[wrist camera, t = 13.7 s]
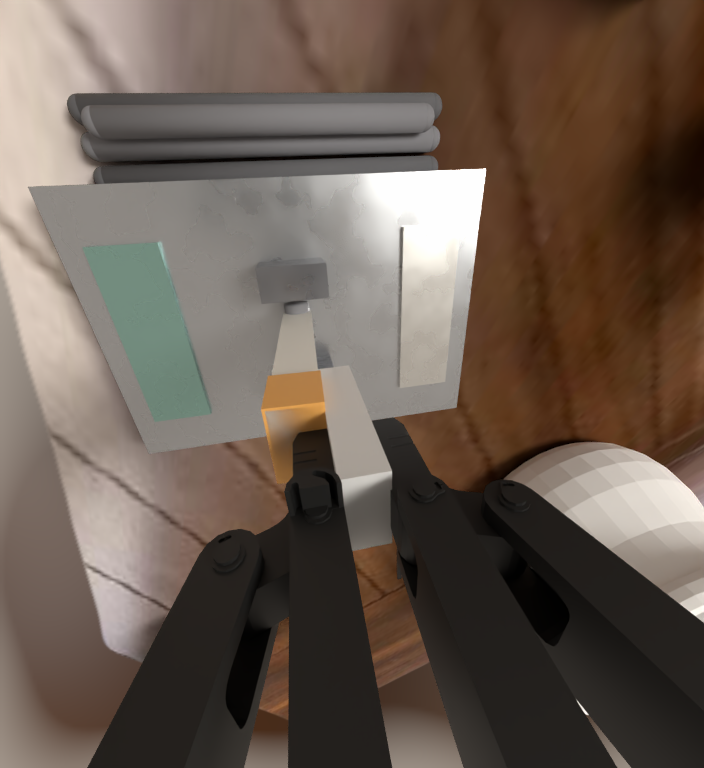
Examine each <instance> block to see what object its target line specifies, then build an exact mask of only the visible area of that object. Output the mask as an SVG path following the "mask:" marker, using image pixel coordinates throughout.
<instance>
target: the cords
mask: <svg viewBox="0 0 704 768" xmlns="http://www.w3.org/2000/svg"><path fill="white" fill-rule="evenodd" d="M67 106H68V110H69V112H70V114H71V115H72V117H73V118H74V119H75V120H76V121H77V122H78V123H80V124H81V125H83V126H84V127H85V128H86V129H87V131H88V132H86V133H84V134H83V135H82V137H81V145H82V148H83V150H84V151H85V153H86V154H87V155H88V156H89V157H91V158H92V159H94V160H96V161H99V162H119V161H152V160H185V159H218V158H251V157H284V156H317V155H351V154H384V153H417V152H431V151H433V150H434V149H435V148H436V147H437V146H438V144H439V141H440V133H439V130H438V129H437V128H436V127H435V126H432V125H433V122H434V120H435V119H436V118H437V117H438V116H439V115H440V112H441V109H442V101H441V98H440V96H439V95H438V94H436V93H88V94H72V95H71V96H70V97H69V98H68V100H67ZM437 170H438V162H437V160H436V159H435V158H434V157H433V156H399V157H367V158H336V159H304V160H273V161H241V162H210V163H178V164H147V165H115V166H100V167H97V168H96V169H95V171H94V174H93V177H94V181H95V183H96V184H113V183H139V182H164V181H190V180H215V179H241V178H267V177H292V176H318V175H344V174H369V173H395V172H421V171H437Z"/></svg>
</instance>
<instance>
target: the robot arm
mask: <svg viewBox="0 0 704 768" xmlns="http://www.w3.org/2000/svg"><path fill="white" fill-rule="evenodd" d="M319 370H321V378H322V386H323V394H324V402H325V411H326V412H325V414H326V423H327V429H320V430H313V431H306V432H300V433H298V434H297V436H296V438H295V440H294V441H293V476H292V478H291V479H290V480H289V481H288V482H287V484H286V488H285V491H284V492H285V497H286V501H287V506H288V510H289V513H288V514H287V515H286V517H285V518H284V519H283V520H282V521H280V522H279V523H278V524H277V525H275V526H273V527H272V528H270V529H268V530H266V531H264V532H262V533H259V534H257V535H254V534H253V533H252V532H250V531H247V530H242V529H237V530H230V531H227V532H225V533H223V534H221V535H218V536H217V537H216V538H214V539H213V540H212V541H211V542H209V543H208V544H207V545H206V547H205V548H204V549H203V551H202V552H201V553H200V555H199V557H198V558H197V560H196V562H195V564H194V566H193V568H192V570H191V572H190V574H189V576H188V577H187V579H186V581H185V583H184V585H183V587H182V589H181V591H180V593H179V595H178V596H177V598H176V600H175V602H174V604H173V606H172V608H171V610H170V612H169V614H168V615H167V617H166V619H165V621H164V623H163V625H162V627H161V629H160V631H159V633H158V634H157V636H156V638H155V640H154V642H153V644H152V646H151V648H150V650H149V652H148V653H147V655H146V657H145V659H144V661H143V663H142V665H141V667H140V669H139V671H138V673H137V674H136V676H135V678H134V680H133V682H132V684H131V686H130V688H129V690H128V691H127V694H126V695H125V697H124V699H123V701H122V703H121V705H120V707H119V709H118V710H117V712H116V714H115V716H114V718H113V720H112V722H111V724H110V726H109V728H108V729H107V732H106V733H105V735H104V737H103V739H102V741H101V743H100V745H99V747H98V748H97V750H96V752H95V754H94V756H93V758H92V760H91V762H90V764H89V766H88V767H87V768H244V765H245V761H246V756H247V753H248V748H249V745H250V740H251V736H252V732H253V728H254V724H255V720H256V715H257V712H258V707H259V703H260V699H261V695H262V691H263V687H264V683H265V679H266V675H267V670H268V666H269V662H270V658H271V654H272V650H273V646H274V642H275V637H276V633H277V629H278V625H279V622H280V621H282V620H284V619H285V618H287V617H288V616H289V727H288V730H289V731H288V733H289V734H288V740H289V741H288V768H392V764H391V759H390V754H389V748H388V742H387V737H386V732H385V727H384V721H383V716H382V710H381V705H380V699H379V693H378V688H377V683H376V677H375V672H374V666H373V661H372V655H371V650H370V645H369V639H368V634H367V628H366V623H365V617H364V612H363V606H362V601H361V596H360V590H359V585H358V579H357V574H356V568H355V563H354V558H353V552H352V551H354V550H359V549H364V548H369V547H374V546H379V545H384V544H389V543H392V533H393V536H394V539H395V542H396V545H397V578H398V579H401V578H402V577H403V580H404V583H405V586H406V589H407V592H408V595H409V599H410V602H411V605H412V608H413V611H414V614H415V617H416V620H417V623H418V627H419V630H420V633H421V636H422V639H423V642H424V645H425V648H426V652H427V655H428V658H429V661H430V664H431V667H432V670H433V673H434V676H435V679H436V683H437V686H438V689H439V692H440V695H441V698H442V701H443V704H444V708H445V711H446V714H447V717H448V720H449V723H450V726H451V729H452V732H453V736H454V739H455V742H456V745H457V748H458V751H459V754H460V757H461V761H462V764H463V767H464V768H617V767H616V765H615V763H614V762H613V760H612V758H611V757H610V755H609V753H608V752H607V750H606V748H605V747H604V745H603V743H602V742H601V740H600V739H599V737H598V735H597V733H596V732H595V730H594V728H593V727H592V725H591V723H590V722H589V720H588V718H587V717H586V715H585V713H584V712H583V710H582V708H581V707H580V705H581V706H582V707H583V708H584V709H585V711H586V712H587V713H588V714H589V716H590V717H591V718H592V719H593V721H594V722H595V723H596V724H597V726H598V727H599V728H600V729H601V730H602V732H603V733H604V734H605V735H606V737H607V738H608V739H609V740H610V742H611V743H612V744H613V745H614V747H615V748H616V749H617V750H618V752H619V753H620V754H621V755H622V756H623V758H624V759H625V760H626V762H627V763H628V764H629V765H630V766H631V768H704V622H702V621H701V620H700V619H698V618H697V617H696V616H695V615H693V614H692V613H691V612H689V611H688V610H687V609H686V608H684V607H683V606H682V605H680V604H679V603H678V602H677V601H675V600H674V599H673V598H671V597H670V596H669V595H668V594H666V593H665V592H664V591H662V590H661V589H660V588H659V587H657V586H656V585H655V584H653V583H652V582H651V581H649V580H648V579H647V578H646V577H644V576H643V575H642V574H640V573H639V572H638V571H637V570H635V569H634V568H633V567H631V566H630V565H629V564H628V563H626V562H625V561H624V560H622V559H621V558H620V557H619V556H617V555H616V554H615V553H613V552H612V551H611V550H610V549H608V548H607V547H606V546H604V545H603V544H602V543H601V542H599V541H598V540H597V539H595V538H594V537H593V536H592V535H590V534H589V533H588V532H586V531H585V530H584V529H583V528H581V527H580V526H579V525H577V524H576V523H575V522H574V521H572V520H571V519H570V518H568V517H567V516H566V515H565V514H563V513H562V512H561V511H559V510H558V509H557V508H556V507H554V506H553V505H552V504H550V503H549V502H548V501H547V500H545V499H544V498H543V497H541V496H540V495H539V494H538V493H536V492H535V491H534V490H532V489H531V488H529V487H527V486H526V485H524V484H522V483H519V482H516V481H513V480H502V479H500V480H496V481H492V482H491V483H489V484H488V485H487V486H486V487H485V490H484V493H477V492H465V491H458V490H454V489H451V488H448V486H447V485H446V484H445V483H444V482H443V481H442V480H440V479H439V478H437V477H435V476H433V475H431V473H430V471H429V470H428V468H427V466H426V464H425V462H424V461H423V459H422V457H421V455H420V453H419V452H418V450H417V448H416V446H415V444H413V441H412V439H411V437H410V436H409V434H408V432H407V430H406V428H405V427H404V425H403V424H402V423H400V422H399V421H398V420H396V419H395V418H386V419H380V420H373V421H371V418H370V416H369V413H368V411H367V409H366V406H365V404H364V401H363V399H362V396H361V394H360V391H359V389H358V387H357V384H356V382H355V379H354V377H353V374H352V372H351V369H350V367H349V365H347V366H339V367H331V368H323V369H318V371H319ZM577 701H578V702H579V703H580V705H579V703H578V702H577Z"/></svg>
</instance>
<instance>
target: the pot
mask: <svg viewBox="0 0 704 768" xmlns="http://www.w3.org/2000/svg"><path fill="white" fill-rule="evenodd" d="M503 480H513V481H516V482H519V483H522V484H524V485H526V486H527V487H529V488H531V489H532V490H534V491H535V492H536V493H538V494H539V495H540V496H541V497H543V498H544V499H545V500H547V501H548V502H549V503H550V504H552V505H553V506H554V507H556V508H557V509H558V510H559V511H561V512H562V513H563V514H565V515H566V516H567V517H568V518H570V519H571V520H572V521H574V522H575V523H576V524H577V525H579V526H580V527H581V528H583V529H584V530H585V531H586V532H588V533H589V534H590V535H592V536H593V537H594V538H595V539H597V540H598V541H599V542H601V543H602V544H603V545H604V546H606V547H607V548H608V549H610V550H611V551H612V552H613V553H615V554H616V555H617V556H619V557H620V558H621V559H622V560H624V561H625V562H626V563H628V564H629V565H630V566H631V567H633V568H634V569H635V570H637V571H638V572H639V573H640V574H642V575H643V576H644V577H646V578H647V579H648V580H649V581H651V582H652V583H653V584H655V585H656V586H657V587H659V588H660V589H661V590H662V591H664V592H665V593H666V594H668V595H669V596H670V597H671V598H673V599H674V600H675V601H677V602H678V603H679V604H680V605H682V606H683V607H684V608H686V609H687V610H688V611H689V612H691V613H692V614H693V615H695V616H696V617H697V618H698V619H700V620H701V621H702V622H704V507H703V506H702V504H701V503H700V502H699V500H698V499H697V497H696V496H695V495H694V493H693V492H692V491H691V490H690V489H689V488H688V487H687V486H686V485H685V484H683V483H682V482H681V481H680V480H679V479H678V478H677V477H676V476H675V475H674V474H672V473H671V472H670V471H669V470H668V469H667V468H666V467H664V466H663V465H661V464H659V463H658V462H656V461H654V460H653V459H651V458H649V457H648V456H646V455H644V454H642V453H639V452H637V451H634V450H631V449H628V448H625V447H622V446H619V445H616V444H612V443H602V442H581V443H571V444H567V445H563V446H559V447H556V448H553V449H551V450H548V451H546V452H543V453H541V454H539V455H537V456H535V457H533V458H532V459H530V460H528V461H526V462H525V463H523V464H522V465H520V466H519V467H518V468H516V469H515V470H514V471H512V472H511V473H509V474H508V475H507V476H506V477H505V478H504V479H503ZM577 702H578V701H577ZM578 703H579V702H578ZM579 705H580V703H579ZM580 707H581V708H582V710H583V712H584V713H585V714H587V715H589V714H588V713H587V712H586V711H585V709H584V708H583V707H582V706H581V705H580Z"/></svg>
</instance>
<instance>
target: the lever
mask: <svg viewBox="0 0 704 768" xmlns="http://www.w3.org/2000/svg"><path fill="white" fill-rule="evenodd" d="M284 310H285V312H283V317H282V322H281V328H280V333H279V338H278V344H277V349H276V354H275V360H274V365H273V370H272V376H268V378H267V383H266V388H265V392H264V397H263V402H262V407H261V412H262V416H263V421H264V426H265V430H266V435H267V439H268V444H269V448H270V453H271V457H272V462H273V466H274V471H275V475H276V480H277V484H282V483H287V482H288V481H289V480H290V479H291V478H292V476H293V441H294V440H295V438H296V436H297V434H298V433H300V432H306V431H313V430H320V429H327V423H326V414H325V412H326V411H325V402H324V394H323V386H322V378H321V370H319V371H318V366H317V357H316V349H315V340H314V331H313V322H312V313H311V310H310V309H309V302H308V301H291V302H287V303H285V304H284Z"/></svg>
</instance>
